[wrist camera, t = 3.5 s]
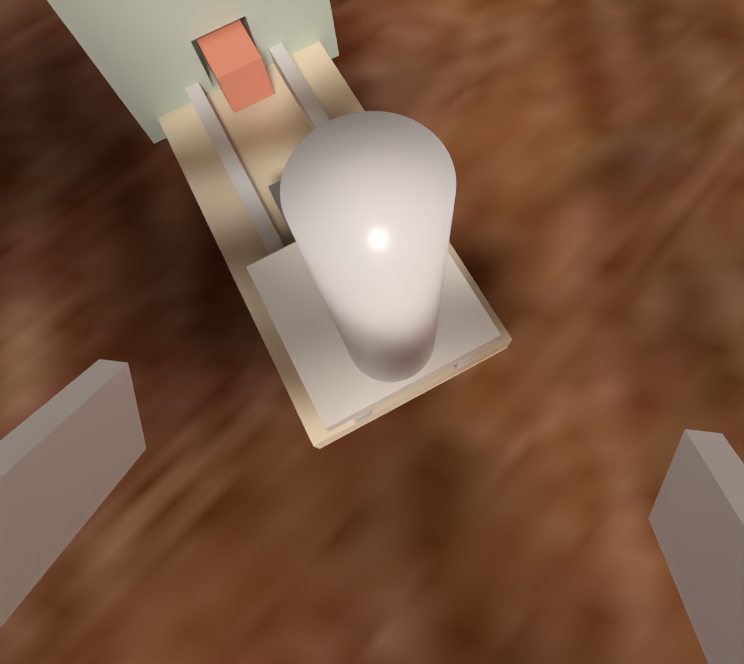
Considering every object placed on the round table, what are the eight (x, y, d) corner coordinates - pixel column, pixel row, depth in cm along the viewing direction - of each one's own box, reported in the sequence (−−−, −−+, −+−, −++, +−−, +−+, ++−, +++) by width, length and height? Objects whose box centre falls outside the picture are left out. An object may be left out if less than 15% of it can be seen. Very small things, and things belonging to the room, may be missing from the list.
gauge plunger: (206, 61, 28) (187, 24, 26) (245, 43, 29) (230, 4, 26) (233, 112, 27) (217, 78, 25) (274, 93, 27) (261, 57, 25)
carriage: (230, 228, 25) (59, -15, 13) (376, 155, 25) (344, -143, 13) (330, 432, 22) (226, 359, 10) (496, 343, 22) (592, 170, 10)
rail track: (169, 136, 30) (148, 105, 27) (323, 62, 30) (316, 26, 28) (319, 448, 24) (309, 443, 21) (506, 348, 25) (516, 332, 22)
